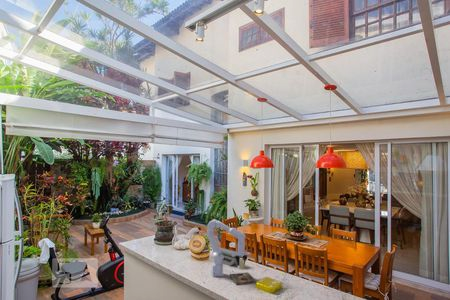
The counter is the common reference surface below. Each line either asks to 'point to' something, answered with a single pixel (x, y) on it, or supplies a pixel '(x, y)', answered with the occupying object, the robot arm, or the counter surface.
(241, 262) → the steel peg
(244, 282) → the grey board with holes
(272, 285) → the element tile
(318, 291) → the counter surface
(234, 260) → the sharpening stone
